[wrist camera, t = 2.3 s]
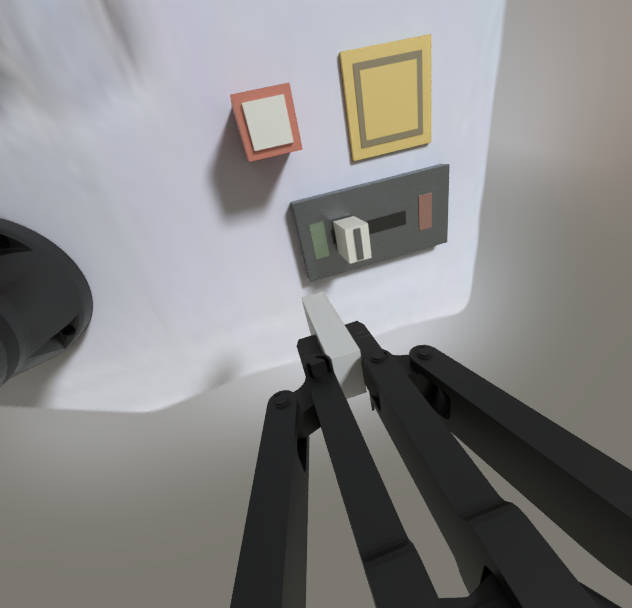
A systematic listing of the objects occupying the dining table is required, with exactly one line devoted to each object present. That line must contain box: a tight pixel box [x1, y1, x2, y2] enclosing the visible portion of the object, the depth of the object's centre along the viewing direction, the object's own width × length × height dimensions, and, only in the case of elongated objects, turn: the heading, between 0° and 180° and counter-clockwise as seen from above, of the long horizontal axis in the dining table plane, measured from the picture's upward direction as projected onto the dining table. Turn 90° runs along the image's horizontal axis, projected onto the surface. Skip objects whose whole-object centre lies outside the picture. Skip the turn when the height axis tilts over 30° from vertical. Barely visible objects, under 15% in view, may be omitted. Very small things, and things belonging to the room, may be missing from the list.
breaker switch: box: [333, 216, 372, 264], centre depth 30 cm, size 2×4×4 cm, turn 12°
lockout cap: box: [230, 83, 302, 162], centre depth 25 cm, size 4×4×6 cm
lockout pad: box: [339, 34, 431, 161], centre depth 29 cm, size 9×9×1 cm
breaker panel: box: [291, 164, 449, 281], centre depth 33 cm, size 18×9×2 cm, turn 102°
